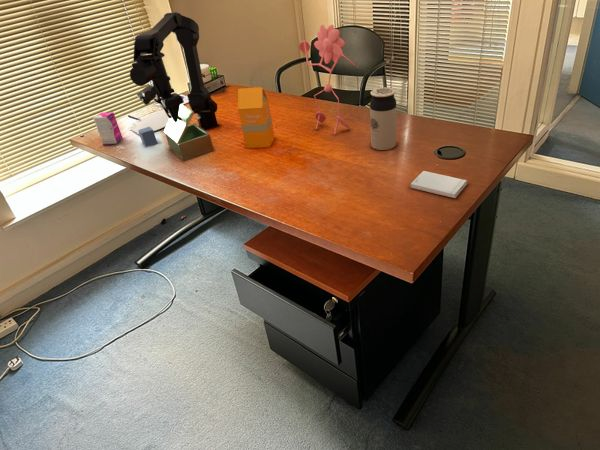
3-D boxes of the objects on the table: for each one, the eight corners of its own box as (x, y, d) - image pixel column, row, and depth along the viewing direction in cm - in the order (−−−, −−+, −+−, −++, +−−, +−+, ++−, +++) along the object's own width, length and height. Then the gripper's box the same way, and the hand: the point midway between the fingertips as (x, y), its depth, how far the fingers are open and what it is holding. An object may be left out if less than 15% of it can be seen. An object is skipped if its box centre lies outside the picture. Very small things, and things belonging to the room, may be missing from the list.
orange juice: (251, 138, 163) (241, 84, 151) (274, 137, 161) (265, 83, 149) (245, 148, 156) (234, 92, 145) (269, 147, 154) (259, 91, 143)
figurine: (351, 140, 151) (344, 31, 131) (298, 126, 167) (285, 27, 147) (379, 124, 159) (376, 20, 139) (326, 112, 175) (317, 17, 155)
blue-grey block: (154, 139, 174) (149, 126, 171) (157, 143, 171) (153, 129, 167) (142, 143, 172) (137, 130, 169) (146, 147, 169) (141, 133, 166)
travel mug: (390, 138, 148) (389, 85, 138) (400, 147, 142) (400, 92, 132) (367, 143, 147) (365, 90, 137) (376, 152, 141) (375, 97, 131)
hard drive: (410, 183, 120) (455, 193, 113) (423, 170, 125) (467, 179, 118) (410, 188, 121) (454, 199, 114) (423, 175, 126) (466, 184, 119)
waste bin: (198, 138, 169) (194, 123, 165) (213, 150, 158) (209, 134, 155) (170, 148, 164) (165, 133, 161) (183, 161, 154) (178, 144, 150)
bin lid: (179, 102, 159) (168, 96, 156) (194, 112, 148) (183, 106, 145) (165, 132, 161) (154, 127, 158) (179, 144, 150) (167, 138, 147)
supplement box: (116, 144, 174) (105, 117, 168) (103, 145, 176) (92, 118, 169) (123, 138, 179) (113, 111, 172) (111, 139, 180) (100, 112, 174)
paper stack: (120, 124, 193) (119, 123, 192) (171, 106, 205) (170, 105, 205) (141, 137, 177) (141, 135, 177) (195, 116, 189) (195, 115, 189)
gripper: (126, 77, 148) (143, 121, 157) (142, 88, 134) (159, 135, 143) (158, 67, 152) (172, 110, 161) (176, 77, 138) (191, 123, 147)
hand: (173, 119), depth 153 cm, fingers closed on bin lid, 5 cm apart
